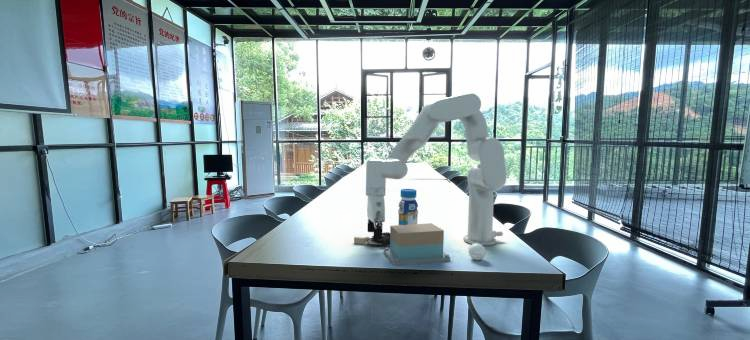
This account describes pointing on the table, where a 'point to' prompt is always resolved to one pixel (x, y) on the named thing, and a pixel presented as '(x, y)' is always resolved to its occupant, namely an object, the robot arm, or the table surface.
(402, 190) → the beverage bottle
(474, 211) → the robot arm
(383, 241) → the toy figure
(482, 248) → the white sphere
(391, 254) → the tan and blue box
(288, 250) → the table surface
